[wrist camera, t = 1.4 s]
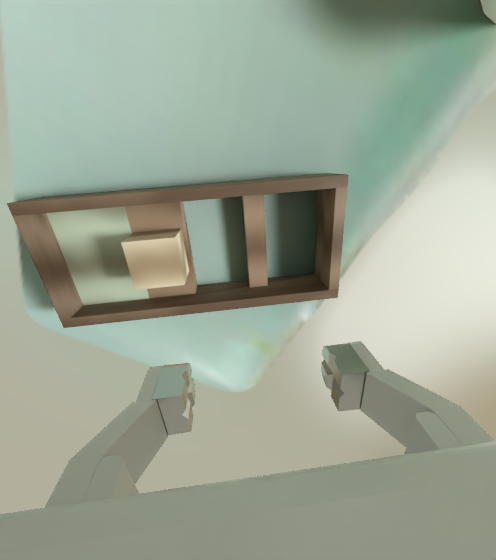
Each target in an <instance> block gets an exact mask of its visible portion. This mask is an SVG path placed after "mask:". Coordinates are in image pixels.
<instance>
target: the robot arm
mask: <svg viewBox="0 0 496 560" xmlns="http://www.w3.org/2000/svg"><path fill="white" fill-rule="evenodd" d="M322 355H323V357H324V359H325V360H324V361H323V362H322V367H321V370H322V376H323V379H324V382H325V384H326V387H327V388H329V389H331V390H332V391H331V397H332V399H333V401H334V403H335V406H336V407H337V410H338V411H346V410H355V409H361V411H362V412H364V413H365V414H366V415H367V416H368V417H370V418H371V419H372V420H373V421H375V422H376V423H377V424H378V425H379V426H381V427H382V428H383V429H384V430H386V431H387V432H388V433H389V434H390V435H392V436H393V437H394V438H395V439H396V440H398V441H399V442H400V443H401V444H402V445H404V446H405V447H406V451H405V454H404V455H398V456H391V457H384V458H378V459H371V460H364V461H357V462H351V463H344V464H337V465H331V466H324V467H317V468H311V469H305V470H298V471H291V472H284V473H277V474H270V475H263V476H257V477H250V478H243V479H236V480H229V481H223V482H216V483H209V484H203V485H196V486H189V487H182V488H175V489H169V490H163V491H155V492H149V493H141V494H139V493H138V490H137V489H136V486H135V483H136V482H137V481H138V479H139V478H140V476H141V475H142V473H143V472H144V471H145V469H146V468H147V466H148V465H149V463H150V462H151V460H152V459H153V457H154V456H155V454H156V453H157V452H158V450H159V448H160V447H161V446H162V444H163V443H164V442H165V440H166V438H167V437H168V436H167V435H172V434H178V433H184V432H190V431H191V428H192V421H193V411H192V407H193V406H194V404H195V384H194V379H193V378H191V372H192V370H191V366H190V364H189V363H184V364H174V365H164V366H157V367H150V368H149V370H148V371H147V374H146V377H145V379H144V382H143V385H142V388H141V390H140V393H139V396H138V398H137V401H136V402H134V403H131V404H130V405H129V406H128V407H127V408H126V409H125V410H124V411H122V412H121V413H120V414H119V415H118V416H117V417H116V418H115V419H114V420H113V421H112V422H111V423H109V424H108V425H107V426H106V427H105V428H104V429H103V430H102V431H101V432H100V433H99V434H97V436H95V437H94V438H93V439H92V440H91V441H90V442H89V443H88V444H87V445H86V446H84V447H83V448H82V449H81V450H80V451H79V452H78V453H77V454H76V455H75V456H74V457H73V458H71V459H70V460H69V462H68V464H67V466H66V468H65V470H64V472H63V474H62V476H61V478H60V479H59V481H58V483H57V485H56V487H55V489H54V491H53V493H52V495H51V497H50V498H49V500H48V502H47V504H46V506H45V508H40V509H34V510H27V511H20V512H14V513H6V514H0V560H496V441H494V440H493V439H492V438H491V437H490V436H489V435H488V434H487V433H486V431H485V430H484V429H483V428H481V427H480V425H479V424H478V423H477V422H476V421H474V419H473V418H472V417H471V416H469V414H468V413H467V412H466V411H465V410H464V409H463V408H461V406H459V405H457V404H455V403H453V402H451V401H449V400H447V399H445V398H443V397H441V396H439V395H437V394H435V393H433V392H431V391H429V390H428V389H425V388H424V387H422V386H420V385H418V384H415V383H414V382H412V381H410V380H408V379H406V378H404V377H402V376H400V375H398V374H396V373H394V372H392V371H390V370H384V369H383V368H382V366H381V365H380V364H379V363H378V361H377V360H376V359H375V358H374V356H373V355H372V354H371V353H370V351H369V350H368V349H367V348H366V347H365V345H364V344H363V343H362V342H353V343H348V344H339V345H332V346H324V347H323V350H322Z"/></svg>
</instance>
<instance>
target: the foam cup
mask: <svg viewBox="0 0 496 560" xmlns="http://www.w3.org/2000/svg"><path fill="white" fill-rule="evenodd" d="M480 1H481V5H482V8H483V12H484V14H485V15H486V16H487V17H488V18H490V19H491V20H492V21H493V22H494V23H496V0H480Z"/></svg>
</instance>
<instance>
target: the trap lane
mask: <svg viewBox="0 0 496 560" xmlns="http://www.w3.org/2000/svg"><path fill="white" fill-rule="evenodd" d="M347 184H348V175H346V174H331V173H326V174H314V175H302V176H290V177H278V178H267V179H255V180H243V181H231V182H219V183H207V184H195V185H183V186H171V187H159V188H147V189H135V190H123V191H111V192H99V193H87V194H75V195H63V196H51V197H42V198H36V199H30V200H24V201H18V202H12V203H7V205H8V207H9V209H10V211H11V213H12V216H13V218H14V220H15V222H16V224H17V227H18V229H19V231H20V233H21V235H22V238H23V240H24V242H25V244H26V246H27V248H28V251H29V253H30V255H31V257H32V259H33V262H34V264H35V266H36V268H37V270H38V272H39V275H40V277H41V279H42V281H43V283H44V286H45V288H46V290H47V292H48V294H49V297H50V299H51V301H52V303H53V305H54V307H55V310H56V312H57V314H58V316H59V318H60V321H61V323H62V325H63V327H64V328H67V327H76V326H85V325H94V324H103V323H112V322H121V321H130V320H140V319H149V318H158V317H167V316H176V315H185V314H194V313H203V312H212V311H221V310H230V309H239V308H248V307H257V306H266V305H275V304H284V303H293V302H302V301H311V300H320V299H329V298H337V297H338V288H339V277H340V265H341V253H342V242H343V230H344V219H345V207H346V196H347ZM308 190H318V203H317V227H316V252H315V273H314V274H304V275H294V276H285V277H275V278H267V256H266V234H265V211H264V194H273V193H285V192H296V191H308ZM239 196H242V207H243V220H244V232H245V245H246V257H247V270H248V280H247V281H237V282H228V283H218V284H209V285H199V286H197V281H196V275H195V269H194V264H193V258H192V252H191V246H190V241H189V235H188V229H187V223H186V218H185V212H184V206H183V201H193V200H204V199H216V198H227V197H239ZM178 228H181V229H182V235H183V240H184V246H185V251H186V256H187V262H188V267H189V273H188V276H187V279H186V282H185V285H179V286H169V287H160V288H150V289H141V290H135V288H134V285H133V281H132V278H131V274H130V271H129V268H128V264H127V261H126V257H125V254H124V250H123V247H122V244H121V242H122V241H124V240H125V239H126V238H128V237H129V236H130V235H132V234H133V233H135V232H146V231H156V230H167V229H178Z"/></svg>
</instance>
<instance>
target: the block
mask: <svg viewBox="0 0 496 560" xmlns="http://www.w3.org/2000/svg"><path fill="white" fill-rule="evenodd" d="M121 244H122V247H123V250H124V254H125V257H126V261H127V264H128V268H129V271H130V274H131V278H132V281H133V285H134V288H135V290H141V289H150V288H160V287H169V286H179V285H185V282H186V279H187V276H188V273H189V267H188V262H187V256H186V251H185V246H184V240H183V235H182V229H181V228H178V229H167V230H156V231H146V232H135V233H133V234H132V235H130V236H129V237H128V238H126V239H125V240H124V241H122V242H121Z"/></svg>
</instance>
